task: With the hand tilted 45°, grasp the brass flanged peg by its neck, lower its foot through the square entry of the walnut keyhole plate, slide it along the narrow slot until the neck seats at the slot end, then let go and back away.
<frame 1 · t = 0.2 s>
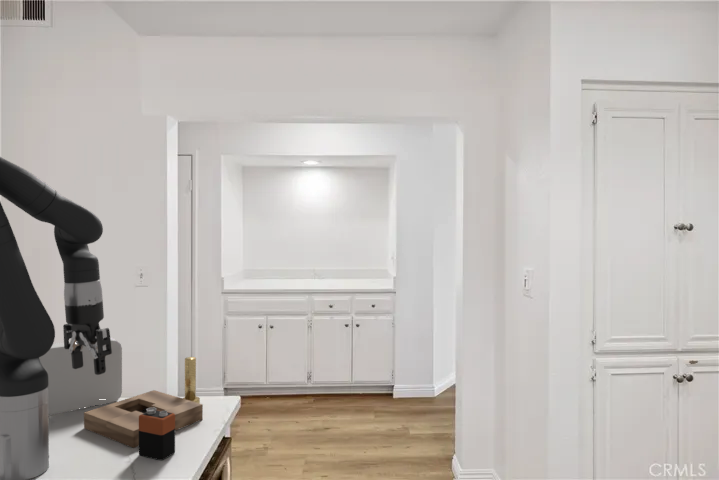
hand: (89, 370, 113), 18 cm above the counter, tool pointing down, fingers open, 8 cm apart
grey rounded panel: (63, 410, 136), on the counter
walnut keyhole plate: (144, 423, 127), on the counter
brass peg: (190, 403, 142), on the counter
battery: (156, 455, 111), on the counter
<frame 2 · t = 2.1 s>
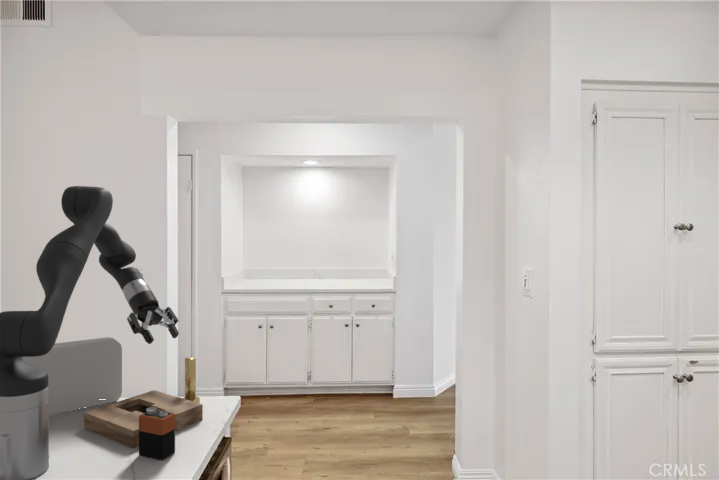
hand: (164, 339, 147), 17 cm above the counter, tool tilted 45°, fingers open, 8 cm apart
nothing on the counter moved.
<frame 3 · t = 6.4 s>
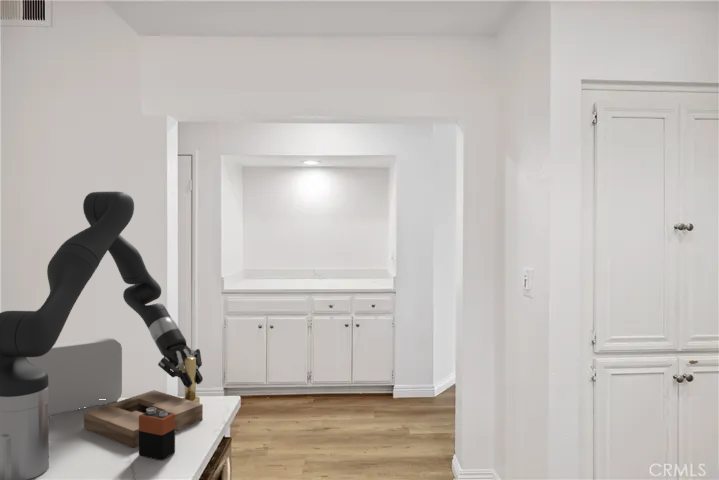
hand: (195, 383, 141), 6 cm above the counter, tool tilted 45°, fingers closed on brass peg, 3 cm apart
brass peg: (190, 403, 142), on the counter, touching gripper
everything else where it was.
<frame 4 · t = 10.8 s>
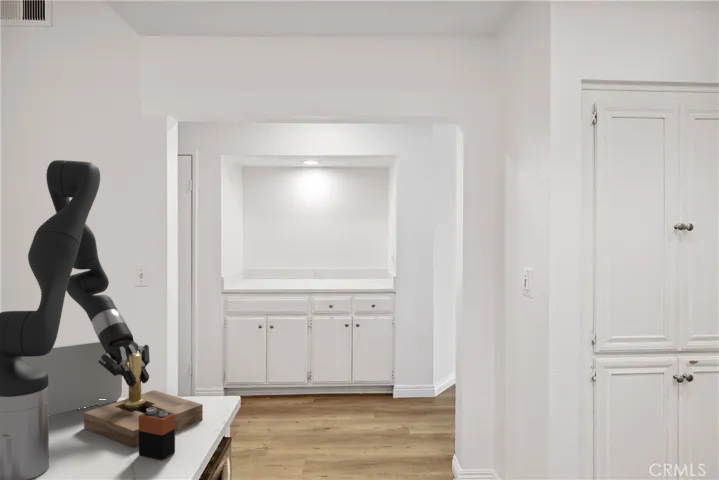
hand: (140, 382, 128), 10 cm above the counter, tool tilted 45°, fingers closed on brass peg, 3 cm apart
brass peg: (135, 404, 129), point 4 cm above the counter, touching gripper
everything else where it was.
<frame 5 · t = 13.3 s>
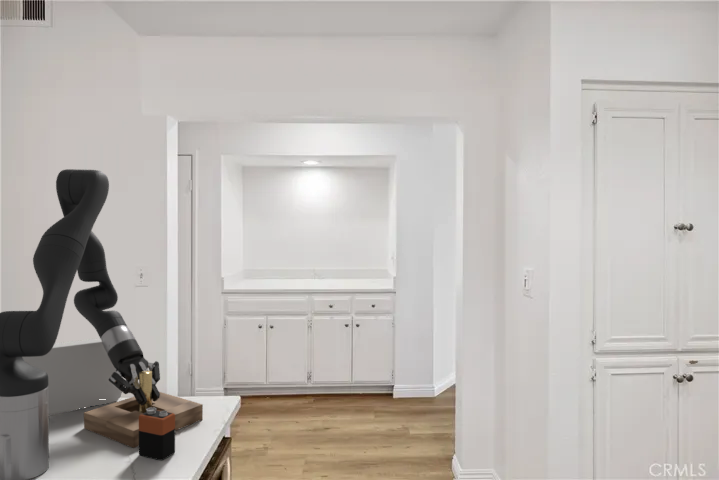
hand: (150, 401, 126), 6 cm above the counter, tool tilted 45°, fingers closed on brass peg, 3 cm apart
brass peg: (145, 422, 127), resting in walnut keyhole plate, touching gripper
everything else where it was.
when the fingers open (6 cm above the counter, at t = 15.2 s): brass peg stays where it is, resting in walnut keyhole plate.
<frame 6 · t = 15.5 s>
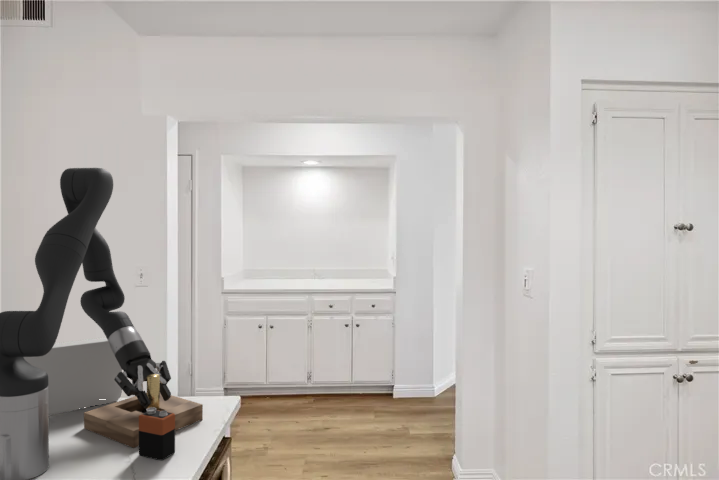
hand: (158, 402, 124), 7 cm above the counter, tool tilted 45°, fingers open, 5 cm apart
brass peg: (153, 426, 125), resting in walnut keyhole plate
everything else where it was.
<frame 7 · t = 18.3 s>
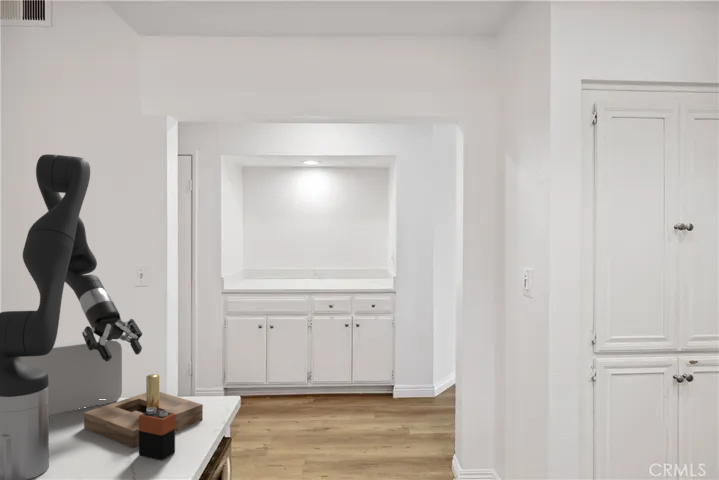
hand: (124, 356, 131), 16 cm above the counter, tool tilted 45°, fingers open, 8 cm apart
nothing on the counter moved.
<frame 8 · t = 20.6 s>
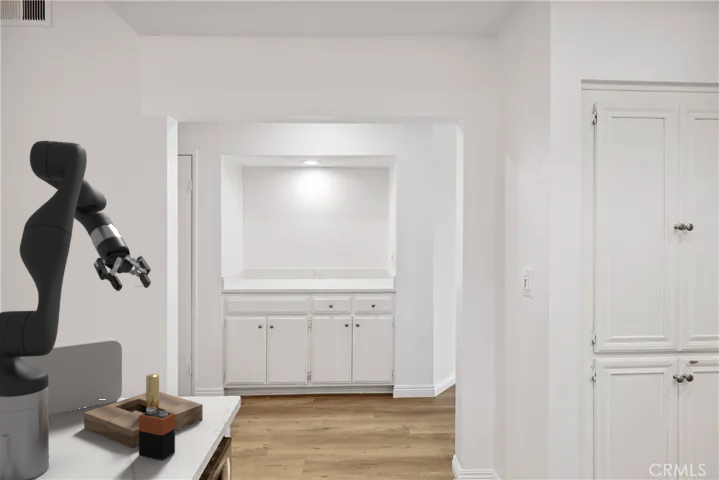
hand: (134, 287, 136), 34 cm above the counter, tool tilted 45°, fingers open, 8 cm apart
nothing on the counter moved.
at the end: brass peg 0.0 cm from the target spot on the walnut keyhole plate, point 0.0 cm above the walnut keyhole plate's base; the gripper is holding nothing; brass peg tilted 1° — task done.
